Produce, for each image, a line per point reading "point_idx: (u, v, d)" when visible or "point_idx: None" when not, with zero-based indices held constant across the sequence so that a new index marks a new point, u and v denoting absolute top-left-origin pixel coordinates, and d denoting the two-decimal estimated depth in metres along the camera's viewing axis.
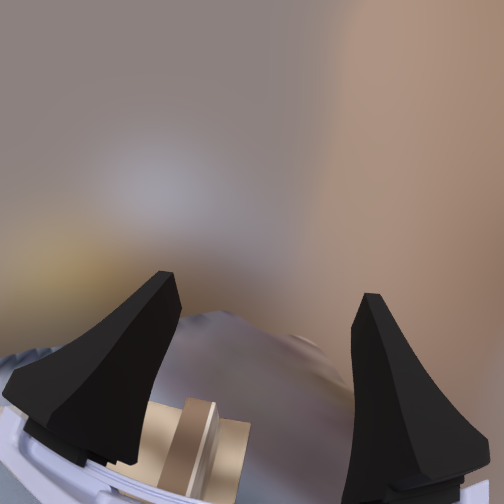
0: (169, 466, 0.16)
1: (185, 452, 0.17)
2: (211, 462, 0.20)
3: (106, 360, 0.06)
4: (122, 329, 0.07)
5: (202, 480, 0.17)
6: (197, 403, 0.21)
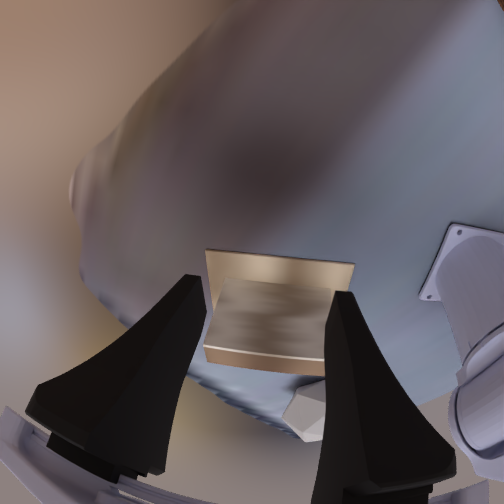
0: (295, 371, 0.19)
1: (274, 363, 0.19)
2: (272, 295, 0.23)
3: (141, 371, 0.06)
4: (155, 337, 0.07)
5: (301, 319, 0.21)
6: (211, 356, 0.20)
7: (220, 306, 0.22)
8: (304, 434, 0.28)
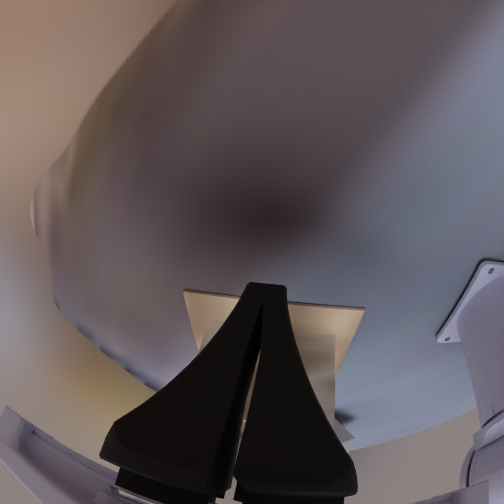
0: None
1: None
2: None
3: (235, 392, 0.06)
4: (240, 353, 0.07)
5: None
6: None
7: None
8: None
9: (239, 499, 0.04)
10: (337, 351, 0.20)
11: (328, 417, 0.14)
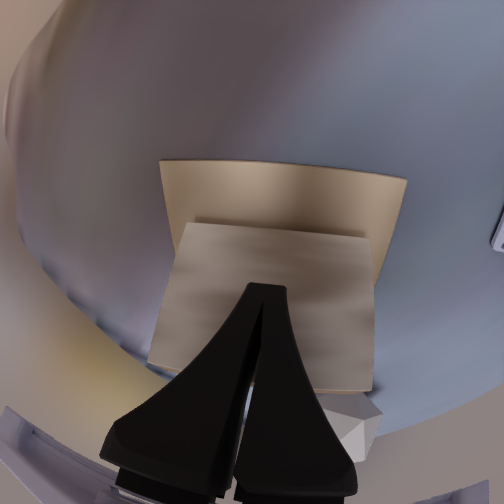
0: None
1: None
2: (267, 256, 0.13)
3: (235, 392, 0.06)
4: (240, 353, 0.07)
5: (320, 307, 0.11)
6: (168, 369, 0.12)
7: (175, 282, 0.12)
8: None
9: (239, 499, 0.04)
10: None
11: (364, 374, 0.10)
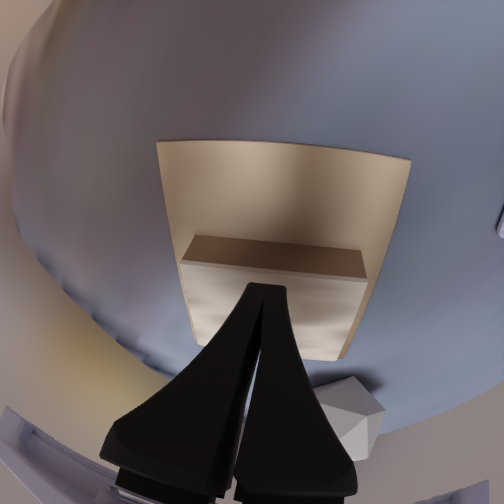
0: None
1: None
2: None
3: (235, 392, 0.06)
4: (240, 353, 0.07)
5: (307, 327, 0.15)
6: None
7: (195, 309, 0.15)
8: None
9: (239, 499, 0.04)
10: (375, 246, 0.14)
11: (333, 355, 0.16)
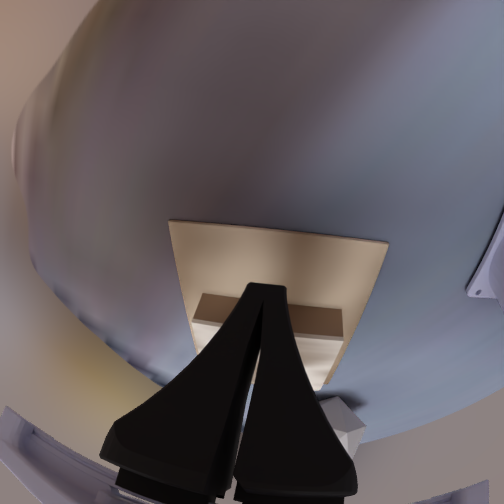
0: None
1: None
2: None
3: (235, 392, 0.06)
4: (240, 353, 0.07)
5: None
6: None
7: None
8: None
9: (239, 499, 0.04)
10: (354, 306, 0.17)
11: (316, 387, 0.19)
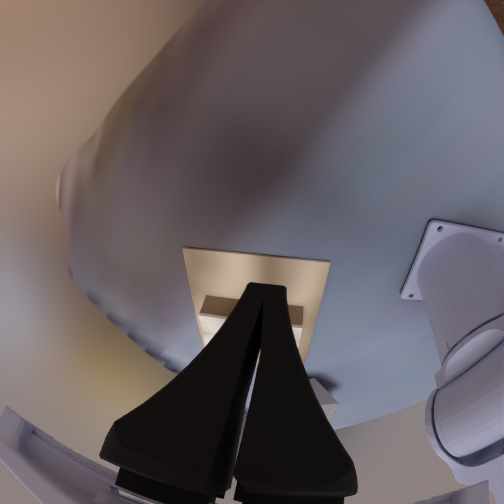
0: None
1: None
2: None
3: (235, 392, 0.06)
4: (240, 353, 0.07)
5: None
6: None
7: (207, 337, 0.26)
8: None
9: (239, 499, 0.04)
10: (312, 304, 0.25)
11: None
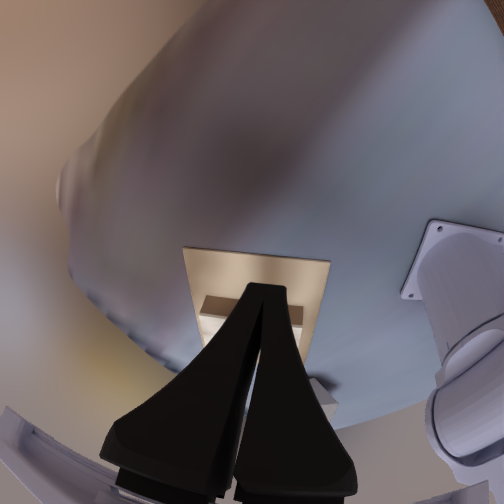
0: None
1: None
2: None
3: (235, 392, 0.06)
4: (240, 353, 0.07)
5: None
6: None
7: (207, 337, 0.26)
8: None
9: (239, 499, 0.04)
10: (312, 304, 0.25)
11: None
